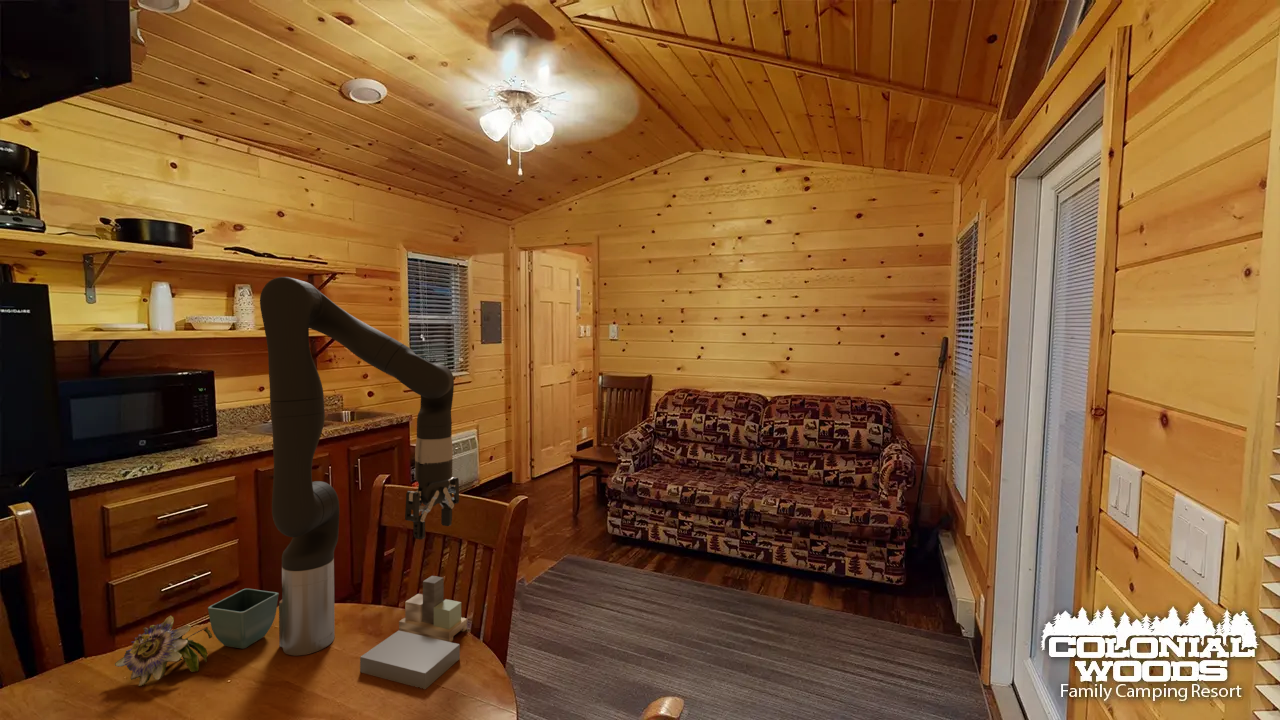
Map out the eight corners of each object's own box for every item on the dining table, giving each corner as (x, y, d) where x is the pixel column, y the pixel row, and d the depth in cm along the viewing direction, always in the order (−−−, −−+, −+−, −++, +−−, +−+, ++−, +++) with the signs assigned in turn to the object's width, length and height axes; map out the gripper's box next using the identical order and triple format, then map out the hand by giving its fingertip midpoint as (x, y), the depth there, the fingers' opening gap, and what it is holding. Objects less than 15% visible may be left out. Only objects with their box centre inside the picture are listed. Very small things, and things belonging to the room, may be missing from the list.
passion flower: (145, 712, 100) (93, 669, 97) (186, 666, 111) (140, 626, 108) (196, 679, 100) (145, 635, 97) (231, 637, 110) (187, 595, 107)
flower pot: (243, 656, 109) (242, 612, 108) (206, 650, 111) (206, 607, 110) (280, 633, 117) (280, 592, 117) (246, 628, 119) (245, 587, 119)
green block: (433, 625, 117) (433, 607, 117) (445, 616, 121) (445, 599, 121) (449, 629, 116) (449, 610, 116) (461, 620, 120) (461, 602, 120)
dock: (360, 672, 104) (360, 656, 104) (398, 644, 114) (398, 630, 114) (425, 689, 100) (425, 673, 100) (459, 658, 109) (459, 644, 109)
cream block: (405, 619, 119) (405, 601, 119) (418, 611, 123) (418, 593, 123) (420, 623, 118) (420, 604, 118) (432, 614, 122) (432, 596, 122)
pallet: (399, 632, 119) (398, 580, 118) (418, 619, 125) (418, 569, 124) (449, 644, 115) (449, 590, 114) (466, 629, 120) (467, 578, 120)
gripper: (441, 449, 126) (440, 519, 126) (395, 462, 112) (394, 540, 113) (469, 452, 123) (468, 523, 124) (425, 466, 110) (424, 546, 110)
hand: (433, 531), depth 118 cm, fingers open, 8 cm apart
